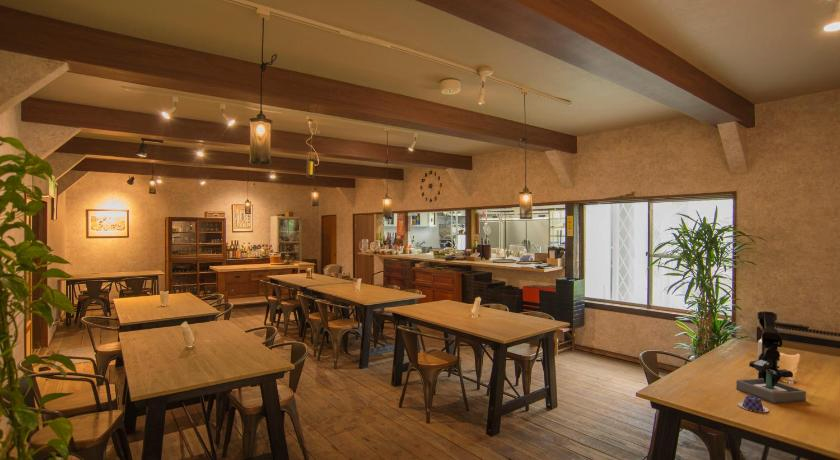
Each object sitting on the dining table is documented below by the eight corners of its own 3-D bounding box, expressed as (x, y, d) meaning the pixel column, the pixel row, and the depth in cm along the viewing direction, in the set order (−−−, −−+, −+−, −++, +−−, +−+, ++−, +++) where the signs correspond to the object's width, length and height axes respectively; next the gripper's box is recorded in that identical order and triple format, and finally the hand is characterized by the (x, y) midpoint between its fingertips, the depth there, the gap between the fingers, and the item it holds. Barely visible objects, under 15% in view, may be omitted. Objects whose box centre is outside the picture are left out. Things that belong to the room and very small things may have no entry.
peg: (769, 388, 228) (769, 370, 228) (775, 390, 225) (775, 372, 225) (764, 388, 227) (764, 371, 227) (770, 390, 224) (770, 373, 224)
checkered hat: (761, 415, 201) (761, 404, 201) (732, 406, 211) (732, 395, 211) (773, 410, 207) (774, 399, 207) (744, 401, 217) (745, 391, 217)
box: (766, 387, 238) (766, 378, 238) (805, 401, 218) (805, 391, 218) (736, 389, 234) (736, 380, 234) (773, 404, 214) (773, 393, 214)
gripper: (741, 351, 233) (740, 380, 233) (776, 361, 215) (775, 393, 215) (757, 350, 236) (757, 378, 236) (794, 360, 217) (793, 391, 217)
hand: (770, 385), depth 226 cm, fingers closed on peg, 3 cm apart
